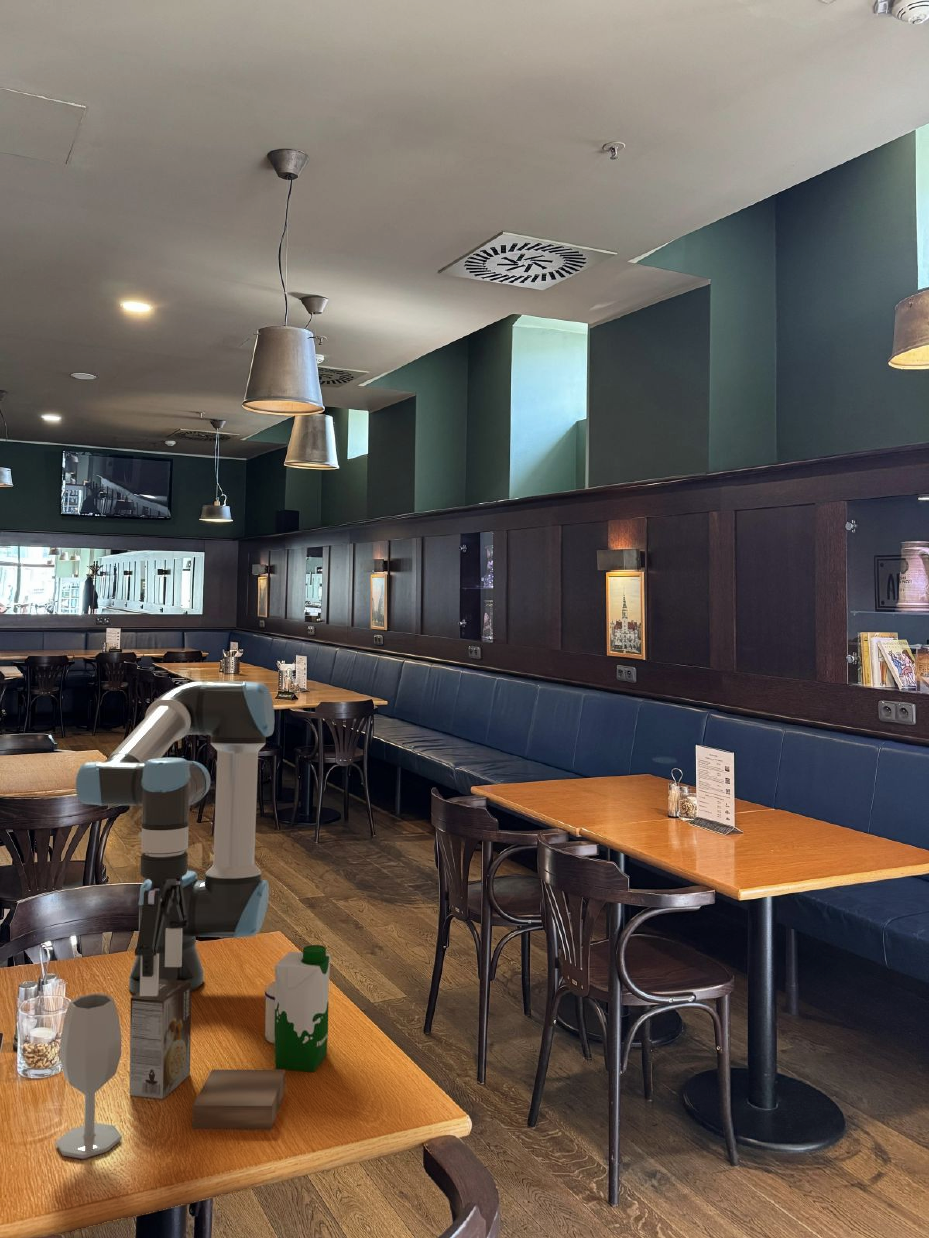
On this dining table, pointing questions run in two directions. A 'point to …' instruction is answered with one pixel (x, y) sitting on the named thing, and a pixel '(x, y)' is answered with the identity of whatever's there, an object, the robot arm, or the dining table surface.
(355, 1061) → the dining table surface
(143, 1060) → the coffee box
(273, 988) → the teacup with lid
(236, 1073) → the brown flat block
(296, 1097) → the dining table surface
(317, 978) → the milk carton
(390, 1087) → the dining table surface
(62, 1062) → the wineglass
